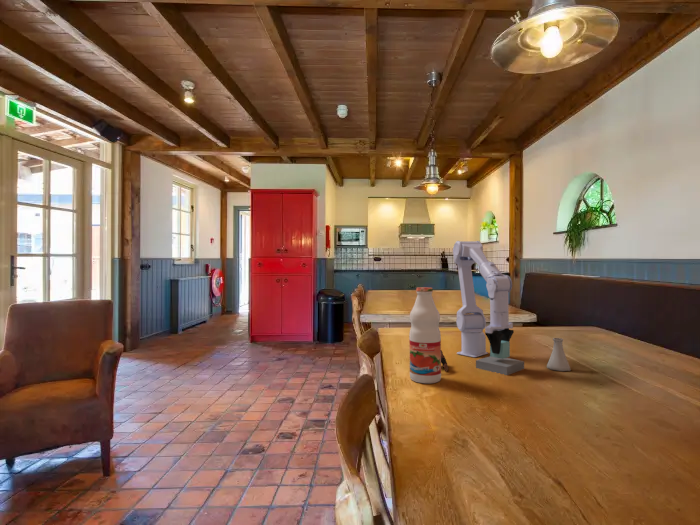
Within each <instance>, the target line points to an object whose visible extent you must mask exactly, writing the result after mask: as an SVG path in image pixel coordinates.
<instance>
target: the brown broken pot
mask: <svg viewBox="0 0 700 525" xmlns="http://www.w3.org/2000/svg"><path fill="white" fill-rule="evenodd" d="M441 366H442V368H443V367H444V368H443V369H444V372H445V373H447V372H448V371H449V366H448V362H447V359H446V356H445V355H444V353H443V351H442V349H441Z"/></svg>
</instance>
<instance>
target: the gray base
mask: <svg viewBox="0 0 700 525" xmlns="http://www.w3.org/2000/svg"><path fill="white" fill-rule="evenodd" d="M475 368H476V369H480V370H483V371H487V372H491V373H495V372H496V374H499V373H500V375H503V374H504V376H509V375H512V374H514V373H518V372H520V371H523V370H525V361H524V360H519V359H514V358H510V357H507V358H504V359H501V358H496V357H491V356H490V355H489V356H485V357H483V358H482V357H481V358H479V359H476V360H475ZM522 369H523V370H522Z"/></svg>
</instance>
